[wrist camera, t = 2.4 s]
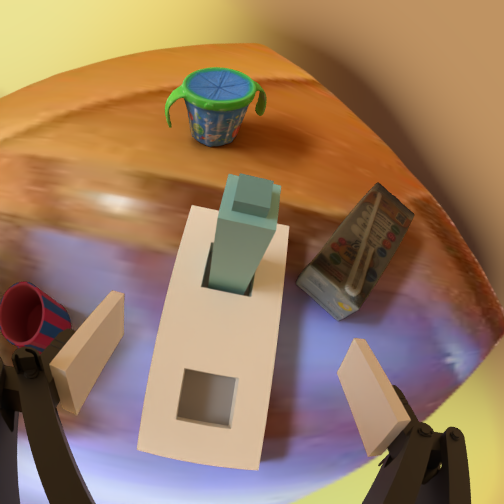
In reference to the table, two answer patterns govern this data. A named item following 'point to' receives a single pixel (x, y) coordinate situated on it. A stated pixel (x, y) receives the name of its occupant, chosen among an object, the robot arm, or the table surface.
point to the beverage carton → (356, 253)
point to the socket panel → (213, 356)
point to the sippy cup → (216, 103)
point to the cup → (31, 317)
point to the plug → (243, 231)
